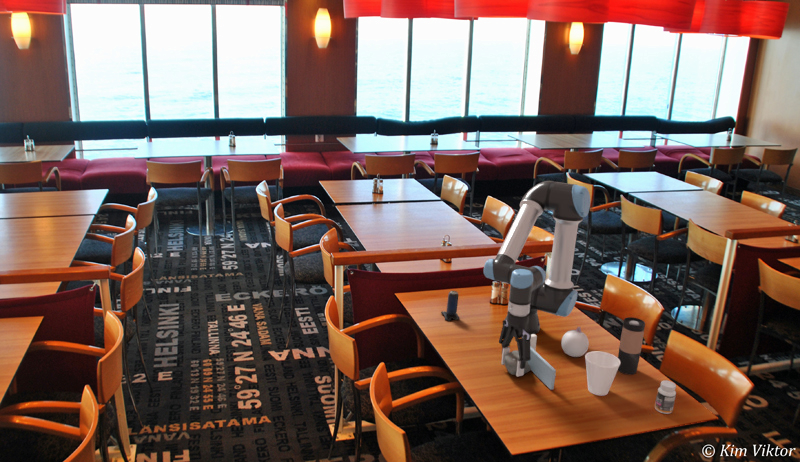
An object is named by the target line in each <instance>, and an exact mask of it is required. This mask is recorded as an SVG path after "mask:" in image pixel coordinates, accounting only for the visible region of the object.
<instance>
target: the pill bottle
mask: <svg viewBox="0 0 800 462" xmlns="http://www.w3.org/2000/svg"><path fill="white" fill-rule="evenodd" d="M676 388H677V385H676V383H675V382H673V381H670V380H667V379H666V380H661V381H660V386H659V387H658V388H657V393H656V396H655V397H656V399H655V403H654V408H655V410H656V411H657V412H659V413H661V414H665V415H666V414H667V415H669V414H671V413H673V411H674V406H675V400H676V394H677V391H676Z"/></svg>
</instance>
